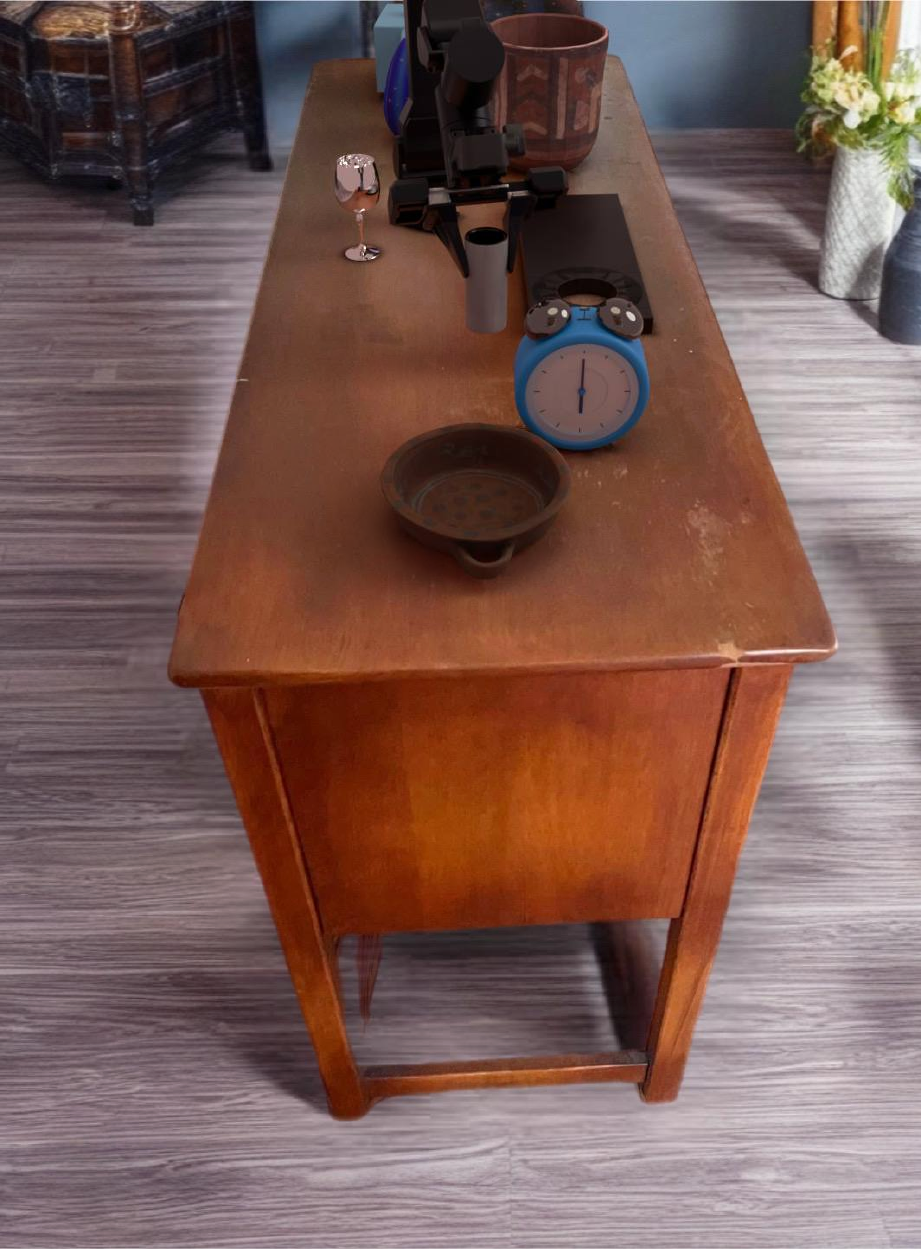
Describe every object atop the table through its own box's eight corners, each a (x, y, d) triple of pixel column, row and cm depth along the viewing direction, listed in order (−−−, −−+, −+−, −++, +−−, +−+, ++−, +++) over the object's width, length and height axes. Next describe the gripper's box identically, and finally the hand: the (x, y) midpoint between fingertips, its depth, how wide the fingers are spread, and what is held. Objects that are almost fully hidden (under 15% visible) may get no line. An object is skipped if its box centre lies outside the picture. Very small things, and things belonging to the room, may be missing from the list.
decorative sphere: (459, 91, 201) (456, -40, 188) (576, 87, 202) (582, -45, 189) (466, 132, 187) (464, -8, 174) (592, 127, 188) (600, -13, 175)
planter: (502, 336, 129) (503, 246, 122) (461, 333, 130) (460, 243, 123) (509, 317, 132) (511, 228, 125) (469, 313, 133) (469, 224, 126)
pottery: (573, 132, 186) (579, 7, 174) (619, 172, 174) (629, 40, 162) (466, 146, 182) (465, 19, 170) (506, 189, 170) (507, 55, 158)
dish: (384, 598, 103) (380, 553, 100) (382, 456, 120) (379, 413, 116) (583, 588, 104) (586, 543, 101) (555, 448, 120) (556, 405, 117)
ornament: (399, 124, 190) (394, 23, 180) (454, 129, 188) (452, 27, 178) (377, 149, 182) (370, 45, 172) (434, 154, 180) (431, 49, 170)
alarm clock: (513, 454, 120) (515, 317, 110) (512, 421, 124) (514, 287, 114) (644, 453, 119) (658, 316, 109) (638, 420, 124) (651, 286, 114)
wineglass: (392, 248, 156) (386, 156, 148) (371, 266, 152) (364, 172, 144) (353, 241, 158) (346, 149, 150) (332, 258, 154) (323, 165, 146)
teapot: (442, 110, 195) (439, 19, 186) (375, 108, 196) (369, 17, 187) (458, 67, 211) (456, -19, 202) (396, 66, 212) (391, -19, 203)
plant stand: (515, 210, 165) (516, 195, 163) (616, 207, 165) (617, 193, 163) (531, 336, 138) (531, 320, 136) (652, 333, 138) (653, 318, 136)
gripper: (385, 101, 117) (407, 256, 116) (569, 86, 119) (591, 238, 119) (378, 151, 128) (399, 293, 127) (547, 137, 130) (567, 276, 130)
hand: (488, 274), depth 126 cm, fingers closed on planter, 4 cm apart
